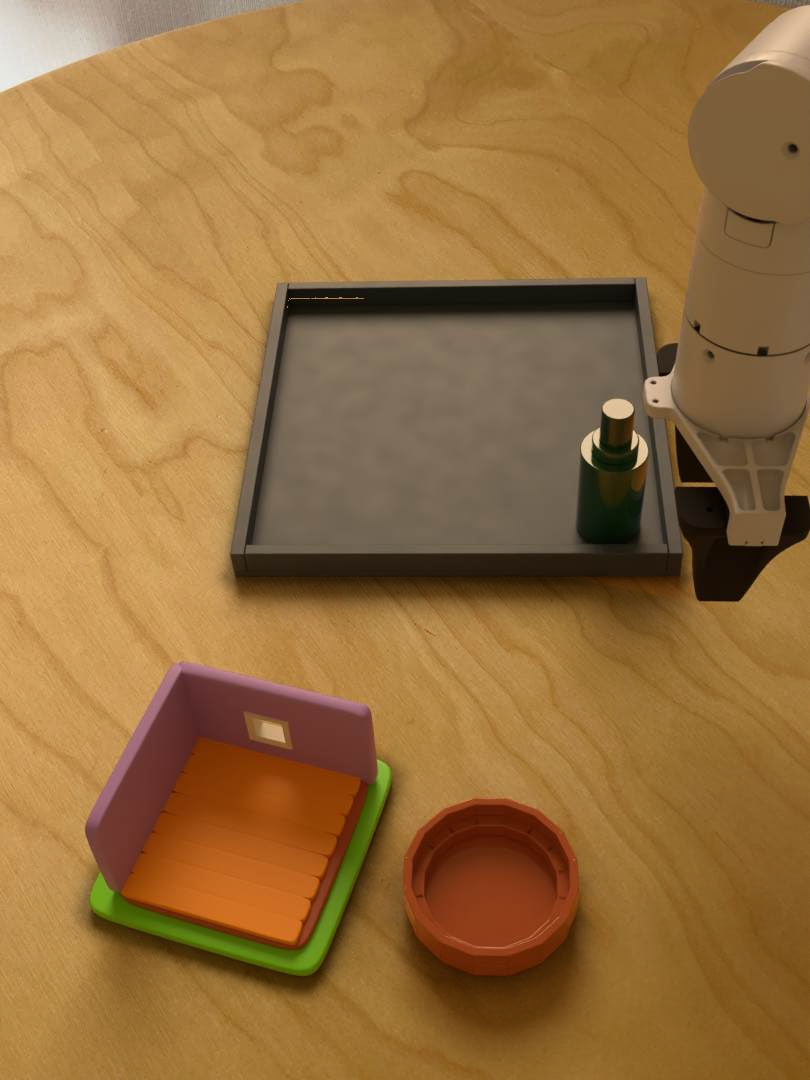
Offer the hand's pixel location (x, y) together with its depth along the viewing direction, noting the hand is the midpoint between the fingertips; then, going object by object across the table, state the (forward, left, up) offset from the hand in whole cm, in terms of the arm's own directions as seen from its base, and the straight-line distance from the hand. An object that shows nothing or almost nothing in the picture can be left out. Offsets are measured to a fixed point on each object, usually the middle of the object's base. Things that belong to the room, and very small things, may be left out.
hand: (708, 534), depth 65 cm
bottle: (+4, -10, -10) cm, 14 cm away
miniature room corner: (+23, +11, -10) cm, 27 cm away
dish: (+11, +14, -10) cm, 20 cm away
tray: (+13, -19, -10) cm, 25 cm away
